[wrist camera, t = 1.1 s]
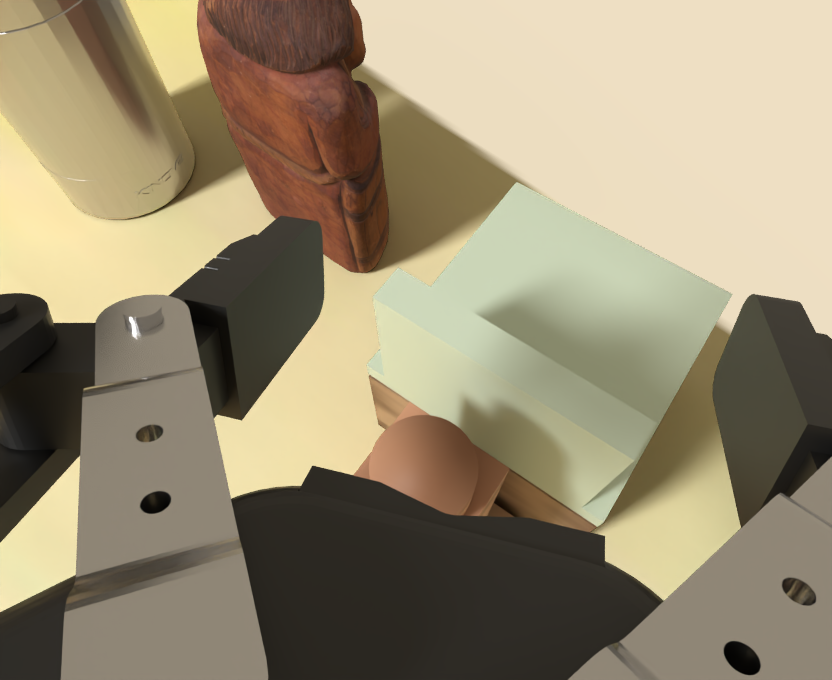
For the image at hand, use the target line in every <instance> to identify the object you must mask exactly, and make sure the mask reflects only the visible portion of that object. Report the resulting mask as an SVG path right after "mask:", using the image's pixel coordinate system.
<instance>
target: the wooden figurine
mask: <svg viewBox="0 0 832 680" xmlns="http://www.w3.org/2000/svg"><path fill="white" fill-rule="evenodd" d="M197 28H198V36H199V42H200V47H201V51H202V55H203V58H204V61H205V64H206V68H207V71H208V74H209V77H210V80H211V83H212V86H213V89H214V91H215V93H216V95H217V97H218V99H219V101H220V102H221V107H222V112H223V115H224V117H225V118H226V119H227V126H228V129H229V132H230V134H231V137H232V139H233V140H234V142H235V144H236V146H237V148H238V150H239V152H240V154H241V156H242V158H243V161H244V163H245V166H246V168H247V170H248V173H249V175H250V177H251V179H252V181H253V183H254V185H255V187H256V189H257V190H258V192H259V194H260V197H261V199H262V201H263V203H264V205H265V207H266V208H267V210H268V211H269V212H270V213H271V215H272V216H274V217H275V218H276V219H277V218H278V217H279V216H282V215H283V216H289V217H295V218H301V219H307V220H313V221H318V222H319V223H320V225H321V229H322V236H323V254H324V255H326V256H327V257H329V258H330V259H331V260H333V261H334V262H336V263H337V264H339V265H341V266H342V267H344V268H345V269H347V270H349V271H350V272H356V273H359V272H360V273H365V272H368V271H370V270H371V269H373V268H374V267H375V266H376V265H377V263H378V262H379V260H380V258H381V256H382V253H383V251H384V248H385V246H386V243H387V239H388V233H389V209H388V200H387V192H386V186H385V179H384V171H383V162H382V151H381V140H380V135H379V117H378V106H377V100H376V97H375V95H374V93H373V92H372V91H371V89H370V88H369V87H368V85H367V84H365V83H363V82H361V81H354V80H353V79H352V77H351V76H352V75H351V71H352V70H353V69H354V68H356V67H358V66H359V65H360V64H361V63H362V62H363V60H364V57H365V53H366V48H365V44H364V41H363V31H362V23H361V19H360V16H359V14H358V12H357V10H356V9H355V7H354V6H353V5H352V2H351V0H199V2H198V12H197Z"/></svg>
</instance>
